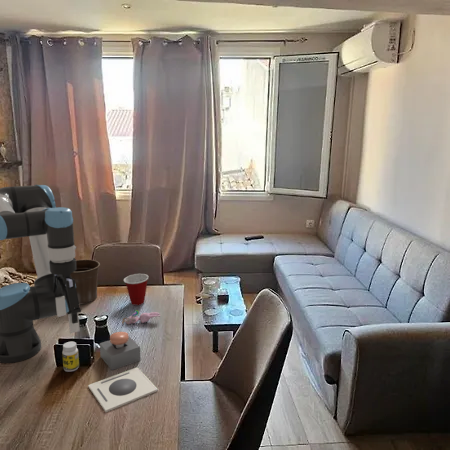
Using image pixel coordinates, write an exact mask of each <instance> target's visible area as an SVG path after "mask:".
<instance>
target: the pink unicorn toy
mask: <svg viewBox="0 0 450 450" xmlns="http://www.w3.org/2000/svg"><path fill="white" fill-rule="evenodd" d="M139 311H140V310H138V309H136V310H134V313H132V315H130V316H128V317H124V318H122V320H121V322H122V326H124V322H125V323H126V325H131V324H135V323H137V322H139V321H140V323H142V324H145V323H147V322H149V321H150V320H151V319H152V318H156V317H161V313H159V312H158V311H157V312H156V311H152V312H143V313H141V314H140V312H139ZM138 315H139V316H138Z"/></svg>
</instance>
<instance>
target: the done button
mask: <svg viewBox="0 0 450 450" xmlns="http://www.w3.org/2000/svg"><path fill="white" fill-rule="evenodd" d="M129 337H130V335H129V333H128V332H126V331H116V332H113V333H111V334H110V336H109V340H110V342H111V343H112V344H114V345H116V349H119V348H122V347H124V343H126V342H128V340H129Z"/></svg>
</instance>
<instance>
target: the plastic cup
mask: <svg viewBox="0 0 450 450" xmlns="http://www.w3.org/2000/svg"><path fill="white" fill-rule="evenodd" d="M148 280H149V275H148V274H145V273H134V274H130V275H128V276H126V277H124V278H123V282H124V283H125V286H126V289H127V293H128V296H129V300H130V304H131V305H133V306H141V305H144V303H145V299H146V295H147V294H146V293H147V285H148Z"/></svg>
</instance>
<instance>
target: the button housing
mask: <svg viewBox="0 0 450 450" xmlns="http://www.w3.org/2000/svg"><path fill="white" fill-rule="evenodd" d="M99 354H100V355H99V356H100V358H101V359H102V360H103V361H104V363H105V364H106V365H107V366H108V368H109V369H110V370H111V371H114V370H117V369H119V368H123V367H125V366H128V365H132V364H134V363H136V362H139V361H141V346H140V345H139V344H138V343H137V342H136V341H135V340H133V339H132V337H130V336H129V340H128V342H126V343H124V347H122V348H119V349H116V345H114V344H112V343H111V342H110V339H109V340H105V341H102V342H100V343H99Z"/></svg>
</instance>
